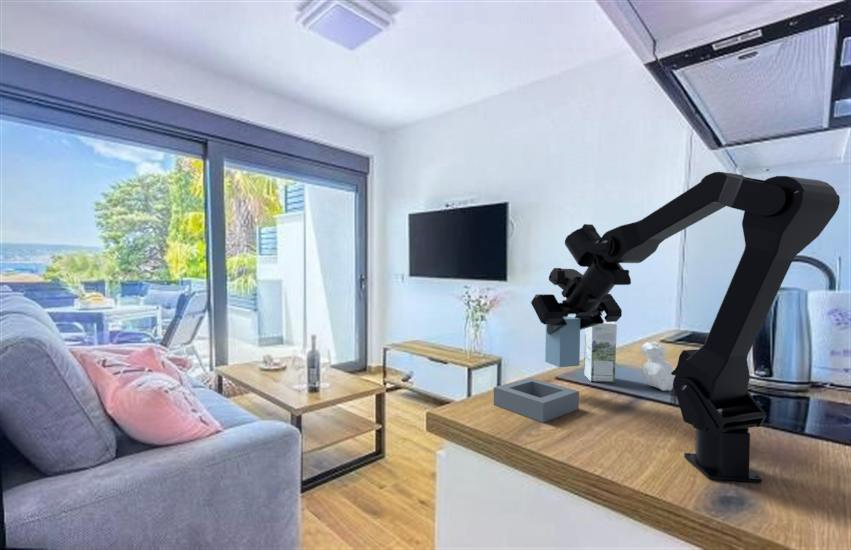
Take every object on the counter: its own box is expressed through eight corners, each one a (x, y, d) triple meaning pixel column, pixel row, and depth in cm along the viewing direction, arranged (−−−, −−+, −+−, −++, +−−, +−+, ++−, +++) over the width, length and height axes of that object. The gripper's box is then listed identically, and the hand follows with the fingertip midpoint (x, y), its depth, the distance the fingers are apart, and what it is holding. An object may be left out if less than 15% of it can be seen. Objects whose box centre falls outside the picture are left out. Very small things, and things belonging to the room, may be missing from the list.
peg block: (579, 365, 85) (580, 318, 85) (559, 367, 84) (560, 319, 84) (564, 360, 90) (565, 315, 90) (545, 361, 89) (546, 316, 88)
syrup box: (607, 376, 102) (608, 319, 101) (615, 383, 96) (617, 322, 95) (583, 375, 102) (584, 318, 102) (590, 382, 96) (592, 322, 96)
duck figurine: (662, 389, 99) (632, 349, 103) (692, 375, 95) (659, 334, 99) (652, 402, 89) (619, 357, 93) (684, 386, 85) (649, 340, 90)
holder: (578, 409, 78) (579, 391, 78) (542, 422, 71) (543, 403, 71) (529, 393, 87) (530, 377, 87) (493, 404, 80) (493, 387, 80)
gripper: (612, 256, 86) (577, 303, 97) (537, 254, 80) (508, 304, 91) (642, 295, 78) (600, 341, 89) (561, 296, 73) (526, 346, 83)
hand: (558, 332), depth 88 cm, fingers closed on peg block, 5 cm apart
